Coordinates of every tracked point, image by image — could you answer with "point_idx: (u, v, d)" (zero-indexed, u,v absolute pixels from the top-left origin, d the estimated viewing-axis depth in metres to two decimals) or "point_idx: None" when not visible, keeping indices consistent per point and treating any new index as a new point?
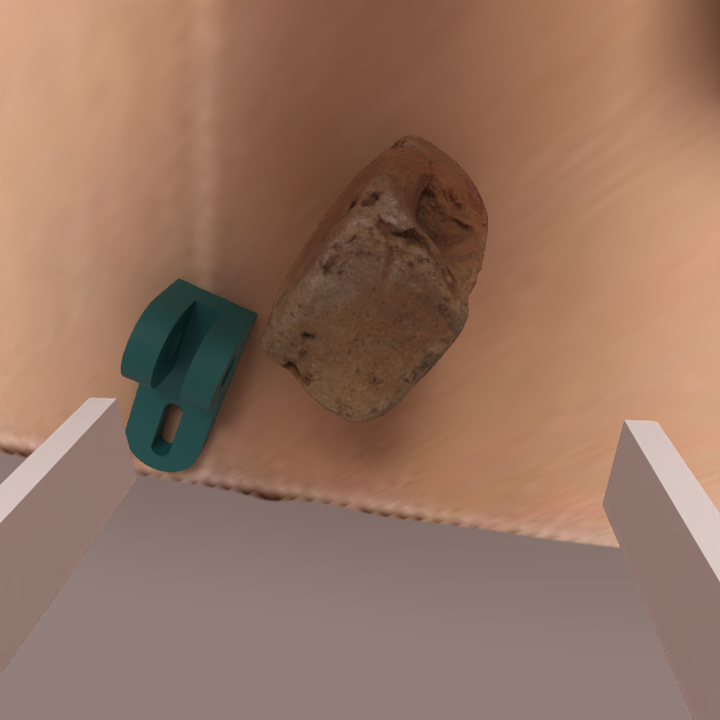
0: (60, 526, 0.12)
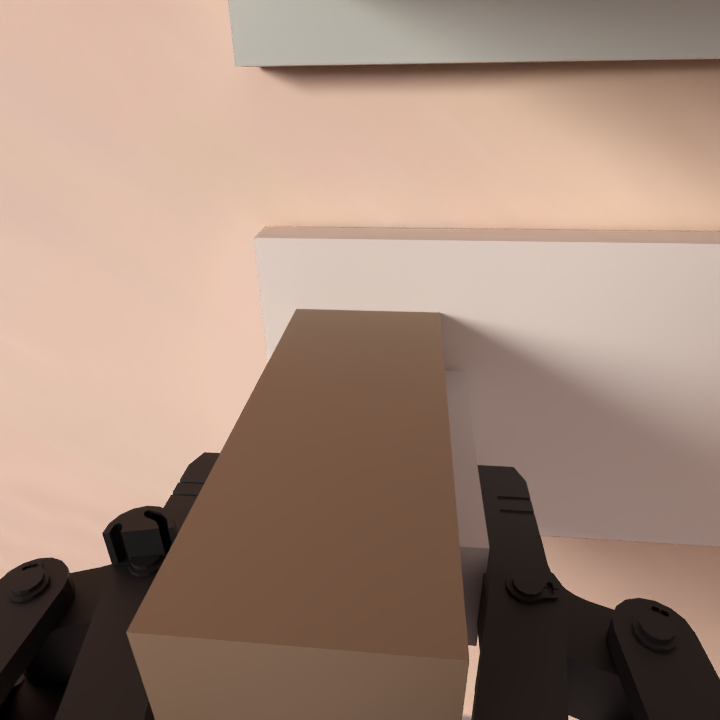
0: None
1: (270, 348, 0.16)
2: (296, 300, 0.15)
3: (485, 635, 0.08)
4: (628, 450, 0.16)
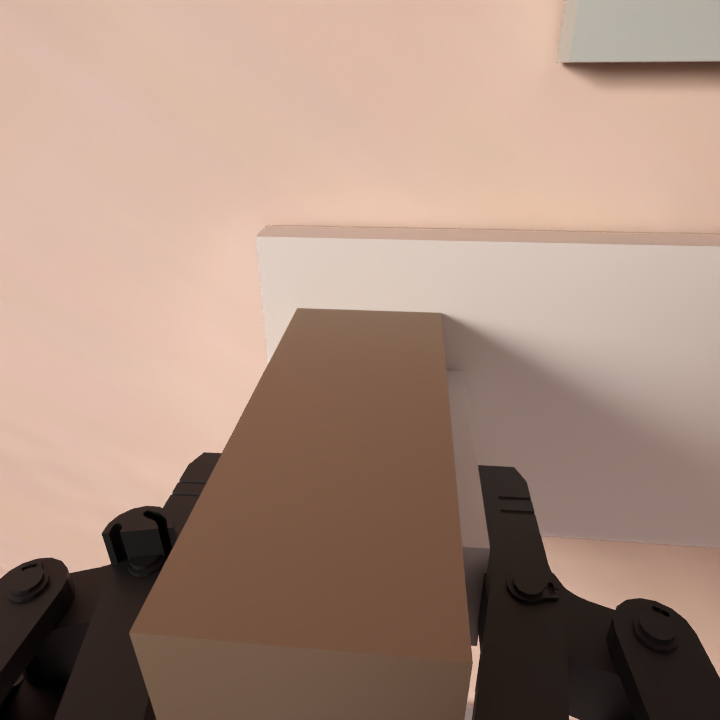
0: None
1: (271, 347, 0.16)
2: (297, 299, 0.15)
3: (486, 635, 0.08)
4: (627, 451, 0.16)
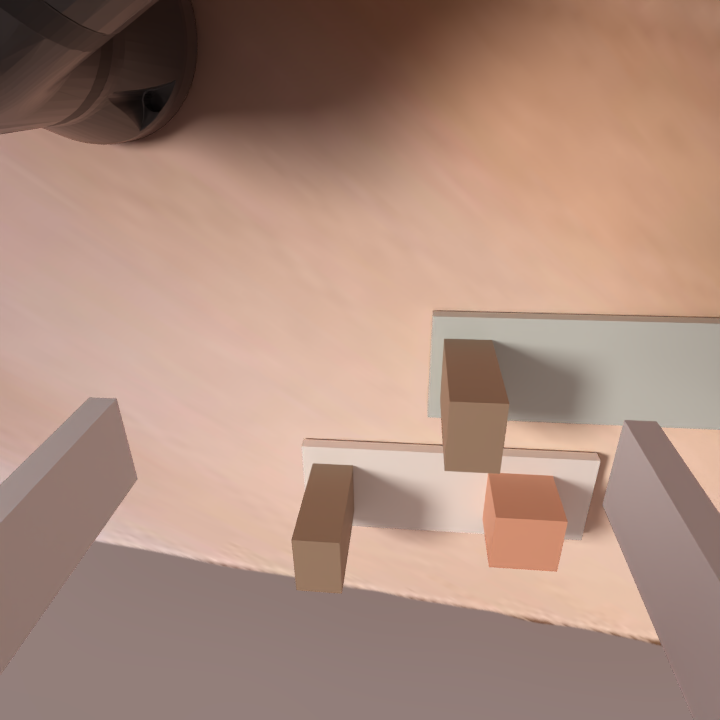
0: (60, 526, 0.12)
1: (304, 472, 0.54)
2: (312, 461, 0.53)
3: None
4: (411, 502, 0.55)
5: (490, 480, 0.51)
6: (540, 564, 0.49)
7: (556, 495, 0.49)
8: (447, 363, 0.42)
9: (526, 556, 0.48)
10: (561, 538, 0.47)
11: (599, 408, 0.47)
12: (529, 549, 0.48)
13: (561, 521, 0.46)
